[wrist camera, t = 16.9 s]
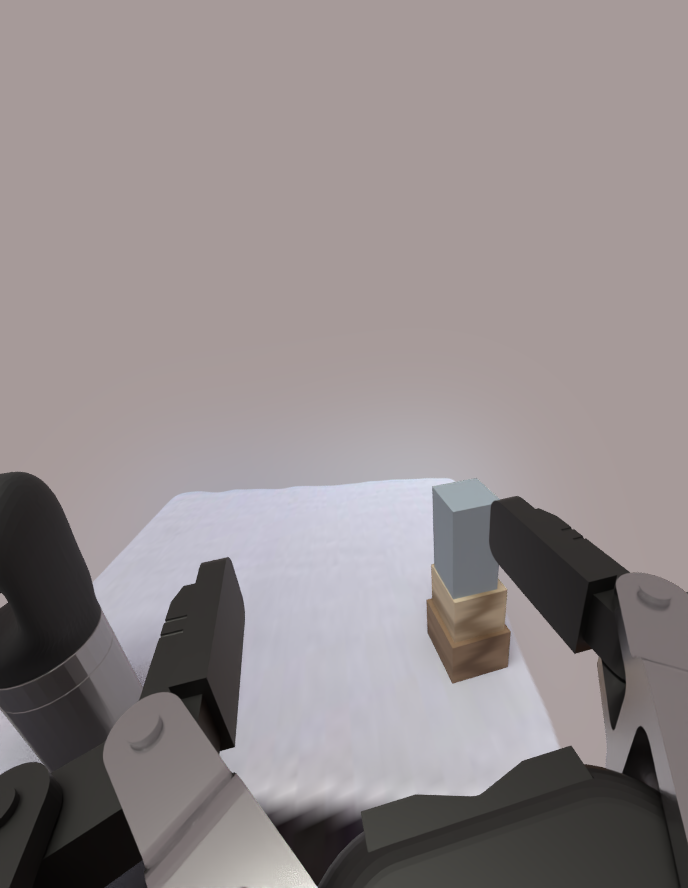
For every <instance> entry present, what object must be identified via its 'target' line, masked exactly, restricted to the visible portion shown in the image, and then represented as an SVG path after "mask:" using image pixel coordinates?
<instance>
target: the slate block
mask: <svg viewBox="0 0 688 888" xmlns="http://www.w3.org/2000/svg"><path fill="white" fill-rule="evenodd" d="M432 494H433V532H434V567H435V569H436V571H437V573H438V574H439V576H440V578H441V579H442V581H443V583H444V585H445V586H446V588H447V590H448V592H449V593H450V595H451V597H452V598H453V599H457V598H462V597H466V596H470V595H474V594H479V593H483V592H487V591H492V590H496V589H497V585H498V569H499V564H498V563H497V562H496V560H495V559H494V557H493V555H492V553H491V550H490V546H489V530H490V510H491V504H492V502H493V501H496V500H500V499H499V498H498V497H497V496H496V495H495V494H493V493H492V492H491V491H490V490H489V489H488V488H487V487H486V486H485V485H484V484H482V483H481V482H480V481H479V480H478V479H477V478H474V479H469V480H463V481H459V482H453V483H448V484H443V485H438V486H433V487H432Z"/></svg>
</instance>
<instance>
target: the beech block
mask: <svg viewBox="0 0 688 888" xmlns="http://www.w3.org/2000/svg"><path fill="white" fill-rule="evenodd" d="M431 573H432V602H433V604H434V606H435V608H436V609H437V611H438V613H439V615H440V617H441V619H442V621H443V623H444V624H445V626H446V628H447V630H448V632H449V634H450V636H451V637H452V639H453V641H454V643H457V642H460V641H464V640H468V639H472V638H475V637H479V636H483V635H486V634H490V633H494V632H498V631H501V630H504V626H505V613H506V600H507V589H506V588H505V586H504V585H503V584H502V583H501V582H500V580H499V579H498V585H497V589H496V590H492V591H487V592H483V593H479V594H474V595H470V596H466V597H462V598H457V599H453V598H452V597H451V595H450V593H449V592H448V590H447V588H446V586H445V585H444V583H443V581H442V579H441V578H440V576H439V574H438V573H437V571H436V569H435V567H434V564H432V565H431Z"/></svg>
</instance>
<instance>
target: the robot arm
mask: <svg viewBox="0 0 688 888" xmlns="http://www.w3.org/2000/svg"><path fill="white" fill-rule="evenodd" d="M489 546H490V550H491V553H492V555H493V557H494V559H495V560H496V562H497V563H498V564H499V565H500V566H501V568H502V569H503V570H504V571H505V572H506V573H507V575H508V576H509V577H510V578H511V579H512V580H513V582H514V583H515V584H516V585H517V586H518V588H519V589H520V590H521V591H522V592H523V594H525V596H526V597H527V598H528V599H529V601H530V602H531V603H532V604H533V605H534V606H535V608H536V609H537V610H538V611H539V612H540V614H542V616H543V617H544V618H545V619H546V620H547V622H548V623H549V624H550V625H551V626H552V627H553V629H554V630H555V631H556V632H557V633H558V635H559V636H560V637H561V638H562V639H563V640H564V642H565V643H566V644H567V645H568V646H569V647H570V649H571V650H572V651H573V652H574V653H575V654H576V653H579V652H583V651H586V650H590V649H593V650H594V651H595V652H596V654H597V655H598V656H599V658H598V662H597V667H598V676H599V683H600V691H601V699H602V707H603V715H604V723H605V731H606V740H607V755H606V768H603V767H598V766H593V765H587V764H583V762H582V761H581V760H580V758H579V756H578V755H577V753H576V752H575V750H574V749H573V748H572V746H568V747H565V748H562V749H559V750H556V751H552V752H549V753H546V754H543V755H540V756H537V757H533V758H530V759H527V760H524V761H522V762H521V763H519V764H518V765H517V766H516V767H514V768H513V769H512V770H511V771H509V772H508V773H507V774H506V775H504V776H503V777H502V778H501V779H499V780H498V781H497V782H496V783H494V784H493V785H492V786H491V787H489V788H488V789H487V790H486V791H485V792H483V793H482V794H480V795H478V796H443V795H413V796H409V797H406V798H403V799H400V800H397V801H394V802H390V803H387V804H384V805H381V806H378V807H374V808H371V809H368V810H365V811H362V812H361V816H362V821H363V827H364V832H362V833H361V834H360V835H359V836H357V837H356V838H355V839H354V840H352V841H351V842H350V843H349V844H348V845H347V846H346V847H345V848H344V849H343V851H342V852H341V853H340V854H339V855H338V856H337V858H336V859H335V860H334V862H333V863H332V864H331V866H330V867H329V868H328V870H327V872H326V874H325V875H324V877H323V879H322V880H321V882H320V884H319V885H318V887H317V886H316V885H315V883H314V882H313V880H312V879H311V877H310V876H309V875H308V873H307V872H306V870H305V869H304V868H303V866H302V865H301V863H300V862H299V860H298V859H297V858H296V856H295V855H294V853H293V852H292V850H291V849H290V848H289V846H288V845H287V843H286V842H285V841H284V839H283V838H282V836H281V835H280V833H279V832H278V831H277V829H276V828H275V826H274V825H273V824H272V822H271V821H270V819H269V818H268V816H267V815H266V814H265V812H264V811H263V809H262V808H261V806H260V805H259V804H258V802H257V801H256V799H255V798H254V797H253V795H252V794H251V792H250V791H249V789H248V788H247V787H246V785H245V784H244V782H243V781H242V780H241V779H240V777H239V776H238V775H237V774H236V773H235V772H234V773H232V772H231V771H230V770H229V769H228V767H227V766H226V764H225V763H224V761H223V760H222V759H221V757H220V756H219V753H220V751H222V750H226V749H229V748H233V747H235V738H236V725H237V713H238V700H239V687H240V675H241V662H242V650H243V637H244V624H245V609H244V602H243V597H242V594H241V591H240V587H239V584H238V581H237V577H236V574H235V571H234V568H233V564H232V561H231V559H230V558H229V557H227V558H222V559H218V560H213V561H208V562H204V563H201V565H200V568H199V572H198V575H197V579H196V583H195V584H191V585H186V586H183V587H182V589H181V590H180V591H179V593H178V594H177V595H176V596H175V598H174V599H173V600H172V602H171V604H170V607H169V610H168V613H167V616H166V619H165V621H166V622H165V623H164V625H163V628H162V631H161V634H160V635H161V638H159V641H158V644H157V647H156V650H155V653H154V656H153V659H152V662H151V665H150V668H149V671H148V674H147V677H146V681H145V684H144V687H142V685H141V683H140V681H139V680H138V678H137V676H136V674H135V672H134V670H133V668H132V666H131V664H130V662H129V660H128V658H127V656H126V655H125V653H124V651H123V649H122V647H121V645H120V643H119V641H118V639H117V637H116V635H115V633H114V632H113V630H112V628H111V626H110V624H109V622H108V620H107V619H106V617H105V615H104V613H103V611H102V609H101V607H100V605H99V603H98V601H97V599H96V597H95V593H94V588H93V584H92V580H91V576H90V573H89V570H88V568H87V565H86V563H85V561H84V559H83V556H82V554H81V552H80V550H79V547H78V545H77V543H76V541H75V538H74V535H73V533H72V530H71V528H70V526H69V523H68V520H67V518H66V516H65V514H64V511H63V509H62V507H61V505H60V503H59V501H58V500H57V498H56V496H55V495H54V493H53V492H52V491H51V489H50V488H49V487H48V486H47V485H46V484H45V483H44V482H43V481H42V480H40V479H39V478H37V477H36V476H34V475H32V474H29V473H25V472H10V473H4V474H0V593H2V594H3V595H4V596H5V598H6V599H7V601H8V603H7V604H6V605H4V606H3V607H1V608H0V710H1V711H2V712H3V714H4V715H5V716H6V717H7V719H8V720H9V721H10V722H11V724H12V725H13V726H14V727H15V729H16V730H17V731H18V733H19V734H20V735H21V736H22V738H23V739H24V740H25V741H26V743H27V744H28V745H29V746H30V748H31V749H32V750H33V752H34V753H35V754H36V755H37V757H38V758H39V759H40V760H41V762H42V763H43V764H44V765H45V766H44V765H43V764H41V763H37V762H29V763H25V764H21V765H19V766H16V767H14V768H12V769H10V770H8V771H6V772H4V773H3V774H1V775H0V888H104V887H105V886H107V885H108V884H110V883H111V882H112V881H114V880H115V879H117V878H118V877H119V876H121V875H122V874H124V873H125V872H126V871H128V870H129V869H130V868H132V867H133V866H135V865H136V864H137V863H139V862H140V861H142V860H143V861H144V864H145V868H146V870H145V871H144V876H145V880H146V884H147V887H148V888H688V592H685V591H684V590H683V589H681V588H680V587H679V586H677V585H675V584H674V583H672V582H670V581H668V580H665V579H663V578H660V577H658V576H655V575H650V574H645V573H630V572H629V571H627V570H626V569H625V568H624V567H622V566H621V565H620V564H618V563H617V562H616V561H614V560H613V559H612V558H611V557H609V556H608V555H607V554H605V553H604V552H603V551H602V550H600V549H599V548H597V547H596V546H595V545H594V544H592V543H591V542H590V541H589V540H587V539H584V538H583V536H582V535H581V534H579V533H578V532H577V531H576V530H572V529H571V527H570V526H569V525H568V524H566V523H565V522H564V521H562V520H561V519H560V518H559V517H557V516H555V515H553V514H551V513H548V512H546V511H544V510H542V509H539V508H538V509H534V508H533V507H532V506H531V505H530V504H529V503H527V502H526V501H525V500H524V499H522V498H521V497H519V496H515V497H510V498H505V499H500V500H496V501H493V502H492V504H491V510H490V530H489Z"/></svg>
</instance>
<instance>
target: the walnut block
mask: <svg viewBox="0 0 688 888" xmlns="http://www.w3.org/2000/svg"><path fill="white" fill-rule="evenodd" d="M427 626H428V634H429V636H430V638H431V640H432V643H433V645H434V647H435V649H436V651H437V653H438V655H439V657H440V659H441V661H442V663H443V665H444V667H445V669H446V671H447V673H448V675H449V677H450V679H451V681H452V683H456V682H459V681H463V680H466V679H469V678H473V677H476V676H479V675H483V674H486V673H489V672H493V671H496V670H499V669H503V668H506V667H508V656H509V645H510V634H511V632H510V630H509V629H508V628H507V626H506V625H505V626H504V630H501V631H498V632H494V633H490V634H486V635H483V636H479V637H475V638H472V639H468V640H464V641H460V642H457V643H454V641H453V639H452V637H451V636H450V634H449V632H448V630H447V628H446V626H445V624H444V623H443V621H442V619H441V617H440V615H439V613H438V611H437V609H436V608H435V606H434V604H433V602H432V599H428V600H427Z"/></svg>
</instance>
